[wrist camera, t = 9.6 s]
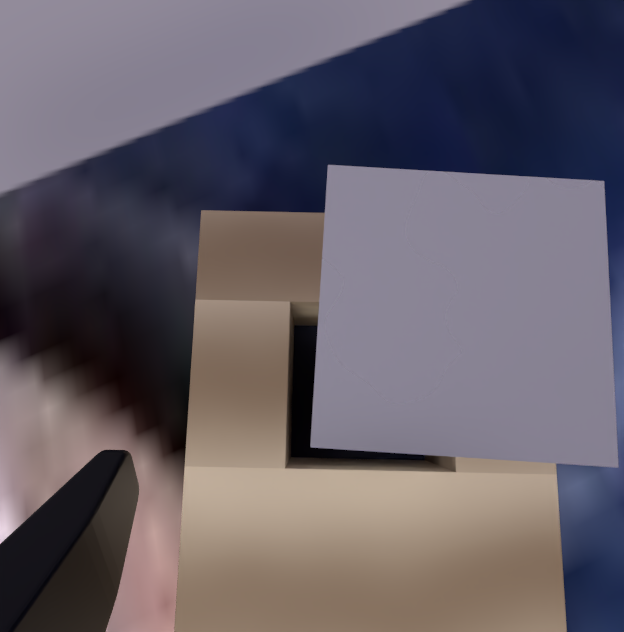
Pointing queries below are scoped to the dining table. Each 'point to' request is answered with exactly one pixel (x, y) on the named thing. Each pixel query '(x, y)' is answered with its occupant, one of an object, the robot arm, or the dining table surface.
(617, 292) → the dining table surface
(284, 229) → the socket block
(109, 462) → the robot arm
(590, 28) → the dining table surface
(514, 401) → the square bit
